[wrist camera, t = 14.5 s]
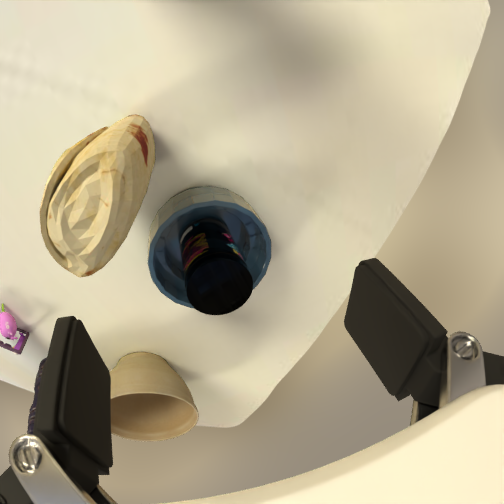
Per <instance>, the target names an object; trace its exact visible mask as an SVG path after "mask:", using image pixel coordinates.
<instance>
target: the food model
mask: <svg viewBox="0 0 504 504" xmlns="http://www.w3.org/2000/svg"><path fill="white" fill-rule="evenodd" d="M154 163H155V143H154V138H153V133H152V131H151V128H150V125H149V123H148V122H147V121H146V120H145V119H144V118H143V117H142V116H139V115H131V116H127V117H125V118H123V119H122V120H120V121H118V122H116V123H115V124H113V125H112V126H111V127H109V128H108V127H104V128H101V129H99V130H97V131H96V132H94V133H92V134H90V135H88V136H87V137H85V138H84V139H82V140H81V141H79V142H78V143H77V144H75V145H74V146H72V147H71V148H69V149H67V150H66V151H65V152H64V153H63V154H62V156H61V157H60V158H59V159H58V161H57V162H56V164H55V165H54V167H53V170H52V172H51V174H50V176H49V178H48V181H47V183H46V185H45V189H44V193H43V198H42V202H41V207H40V223H41V233H42V236H43V239H44V242H45V245H46V247H47V249H48V251H49V253H50V254H51V256H52V257H53V258H54V259H55V261H56V262H57V263H59V264H60V265H61V266H62V267H63V268H65V269H66V270H68V271H69V272H71V273H73V274H74V275H76V276H78V277H85V276H90V275H92V274H94V273H95V272H97V271H98V270H100V269H102V268H103V267H104V266H105V265H106V264H107V263H108V262H109V261H110V260H111V259H112V258H113V256H114V255H115V253H116V252H117V250H118V249H119V247H120V246H121V244H122V243H123V241H124V240H125V238H126V237H127V235H128V232H129V230H130V228H131V226H132V224H133V222H134V220H135V218H136V215H137V213H138V211H139V209H140V207H141V204H142V201H143V198H144V196H145V194H146V192H147V188H148V184H149V180H150V176H151V173H152V169H153V166H154Z"/></svg>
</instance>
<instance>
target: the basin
mask: <svg viewBox="0 0 504 504" xmlns="http://www.w3.org/2000/svg"><path fill="white" fill-rule="evenodd" d="M203 218H211V219H216V220H218V221H220V222H222V223H224V224H225V225H226V226H227V227H228V229H229V231H230V233H231V235H232V237H233V239H234V241H235V243H236V245H237V247H238V249H239V251H240V253H241V256H242V258H243V260H244V262H245V263H246V265H247V267H248V269H249V271H250V273H251V276H252V279H253V289H254V288H255V287H256V286H257V285H258V284H259V282H260V281H261V279H262V278H263V277H264V275H265V273H266V271H267V268H268V265H269V262H270V259H271V240H270V237H269V235H268V232H267V229H266V227H265V225H264V223H263V222H262V221H261V219H260V218H259V217H258V215H257V214H256V213H255V211H254V210H253V209H252V207H251V206H250V205H249V204H248V203H247V202H246V201H245V200H244V199H243V198H242V197H241V196H239V195H237V194H235V193H233V192H232V191H230V190H228V189H224V188H218V187H212V186H205V187H198V188H191V189H188V190H186V191H184V192H182V193H180V194H178V195H176V196H174V197H172V198H171V199H170V200H169V201H168V202H167V203H166V204H165V205H164V206H163V207H162V208H161V209H159V210H158V212H157V214H156V216H155V218H154V220H153V222H152V224H151V226H150V233H149V241H148V266H149V270H150V274H151V278H152V280H153V282H154V283H155V284H156V286H157V287H158V289H159V290H160V292H161V293H162V294H164V295H165V296H167V297H168V298H169V299H171V300H172V301H174V302H175V303H178V304H181V305H184V306H187V307H190V308H194V307H193V306H192V305H191V304H190V302H189V300H188V298H187V293H186V288H185V279H184V273H183V267H182V260H181V253H180V246H179V241H180V237H181V234H182V232H183V231H184V229H185V228H186V227H187V226H188V225H189V224H191V223H192V222H194V221H196V220H199V219H203Z"/></svg>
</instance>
